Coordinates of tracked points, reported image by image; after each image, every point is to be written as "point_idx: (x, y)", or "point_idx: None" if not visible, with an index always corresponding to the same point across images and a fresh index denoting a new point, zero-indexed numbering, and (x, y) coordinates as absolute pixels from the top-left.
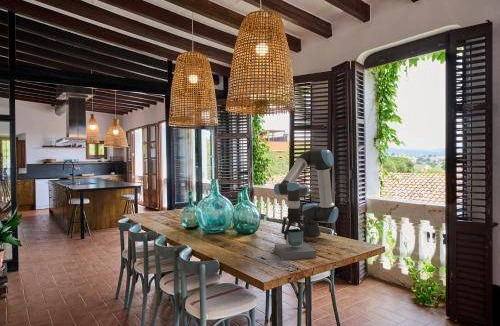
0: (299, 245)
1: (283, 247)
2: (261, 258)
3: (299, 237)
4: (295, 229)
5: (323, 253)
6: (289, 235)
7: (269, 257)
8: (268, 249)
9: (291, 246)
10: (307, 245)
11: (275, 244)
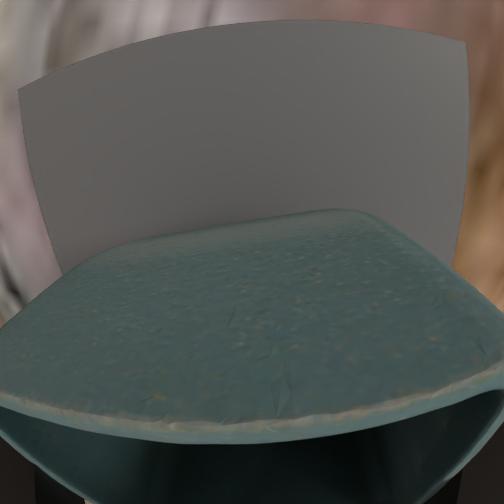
0: (354, 172)
1: (107, 242)
2: (10, 296)
3: (312, 453)
4: (393, 397)
5: (496, 252)
6: (135, 471)
7: (43, 287)
8: (22, 47)
9: (218, 207)
10: (450, 200)
11: (25, 89)
